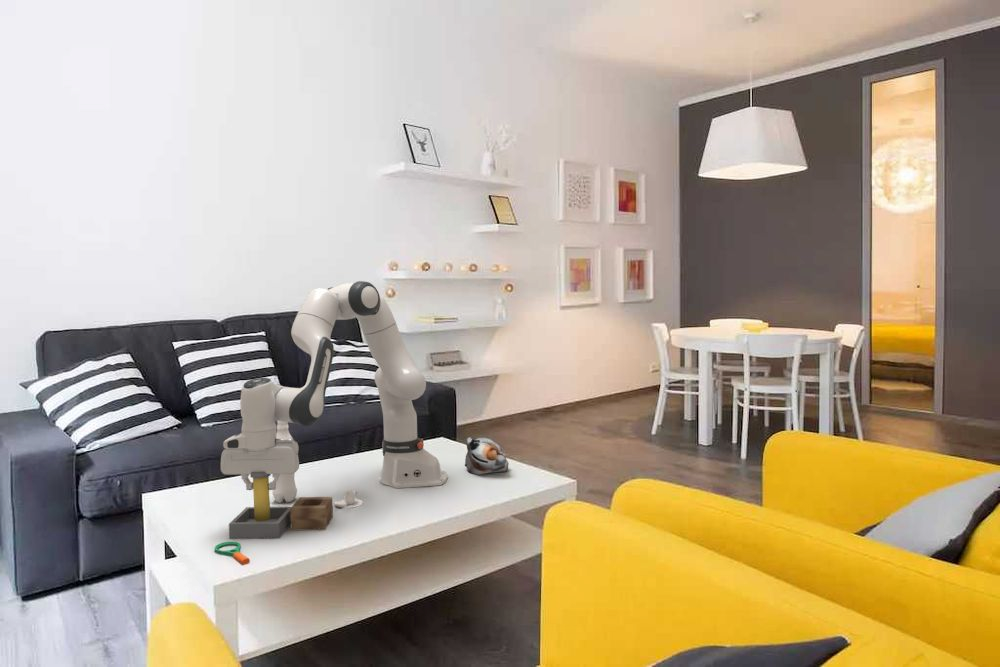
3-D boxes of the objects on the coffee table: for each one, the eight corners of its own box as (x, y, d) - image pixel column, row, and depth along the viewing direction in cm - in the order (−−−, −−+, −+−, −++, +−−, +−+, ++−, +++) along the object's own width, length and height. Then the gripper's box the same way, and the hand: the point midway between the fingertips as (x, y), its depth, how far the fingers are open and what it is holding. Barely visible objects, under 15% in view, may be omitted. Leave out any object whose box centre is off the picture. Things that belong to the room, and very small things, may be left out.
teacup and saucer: (335, 511, 202) (335, 497, 202) (331, 503, 209) (330, 489, 209) (365, 507, 205) (365, 493, 205) (359, 499, 213) (359, 486, 212)
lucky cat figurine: (516, 468, 244) (518, 435, 235) (495, 491, 234) (496, 458, 226) (477, 449, 251) (477, 417, 243) (455, 471, 242) (455, 438, 233)
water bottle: (290, 495, 216) (287, 416, 214) (301, 500, 211) (299, 420, 208) (268, 500, 211) (265, 420, 209) (279, 506, 206) (276, 423, 203)
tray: (293, 520, 193) (292, 506, 193) (279, 538, 180) (278, 523, 180) (246, 521, 193) (246, 507, 193) (229, 538, 180) (228, 523, 180)
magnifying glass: (211, 550, 174) (210, 543, 174) (234, 544, 178) (234, 537, 178) (233, 569, 162) (233, 562, 162) (258, 562, 166) (258, 555, 166)
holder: (332, 517, 196) (332, 496, 195) (325, 529, 186) (324, 507, 186) (300, 517, 195) (299, 497, 195) (291, 529, 186) (290, 508, 186)
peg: (275, 515, 189) (273, 467, 188) (268, 522, 184) (267, 472, 183) (256, 515, 189) (254, 467, 188) (249, 522, 184) (247, 472, 183)
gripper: (301, 435, 188) (303, 485, 189) (226, 436, 188) (228, 486, 189) (294, 441, 182) (296, 492, 183) (217, 442, 181) (219, 493, 183)
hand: (261, 489), depth 186 cm, fingers closed on peg, 5 cm apart
